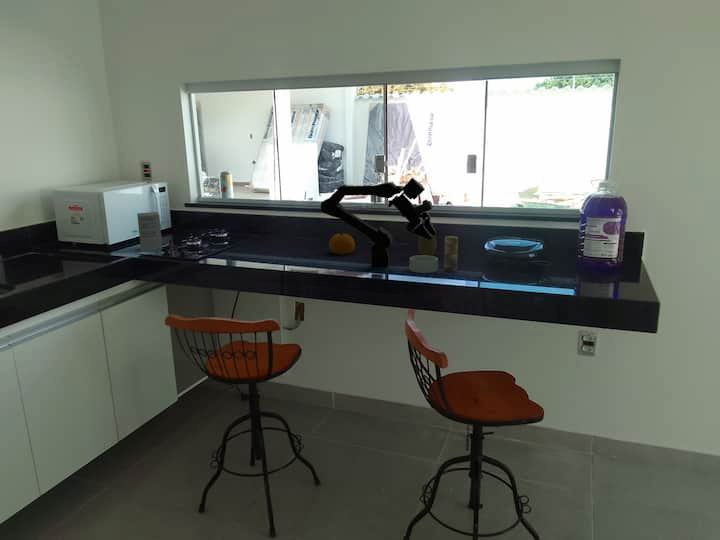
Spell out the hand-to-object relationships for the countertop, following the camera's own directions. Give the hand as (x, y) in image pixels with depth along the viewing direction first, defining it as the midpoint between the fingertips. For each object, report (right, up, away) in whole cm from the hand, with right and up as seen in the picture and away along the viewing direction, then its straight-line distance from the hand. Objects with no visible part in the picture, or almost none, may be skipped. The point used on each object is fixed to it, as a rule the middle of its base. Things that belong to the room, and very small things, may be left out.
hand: (433, 236), depth 217 cm
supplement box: (-127, -3, +44) cm, 135 cm away
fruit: (-37, -6, +32) cm, 49 cm away
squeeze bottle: (+1, -7, +27) cm, 28 cm away
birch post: (+7, -13, +1) cm, 15 cm away
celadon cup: (-4, -13, +2) cm, 13 cm away
